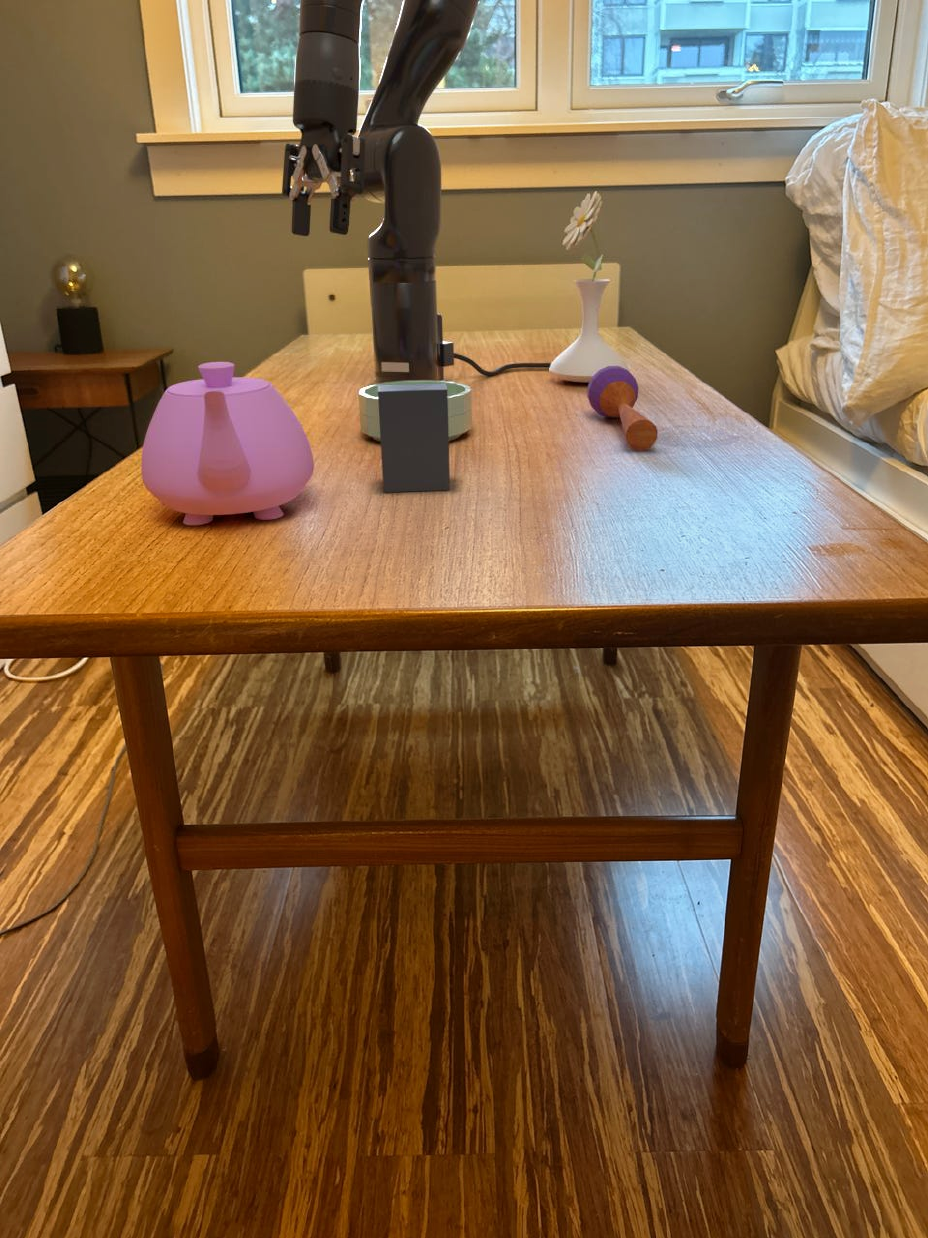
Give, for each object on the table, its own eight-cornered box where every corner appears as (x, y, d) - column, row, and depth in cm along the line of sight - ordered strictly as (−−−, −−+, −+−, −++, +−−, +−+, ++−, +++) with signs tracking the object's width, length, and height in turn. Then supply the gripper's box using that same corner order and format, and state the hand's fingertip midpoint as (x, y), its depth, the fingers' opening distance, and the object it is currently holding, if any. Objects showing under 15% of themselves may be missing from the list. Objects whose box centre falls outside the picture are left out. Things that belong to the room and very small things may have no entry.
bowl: (416, 418, 110) (415, 376, 108) (493, 432, 102) (493, 387, 100) (339, 436, 102) (335, 391, 100) (416, 453, 94) (414, 405, 92)
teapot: (325, 542, 69) (311, 381, 64) (133, 558, 67) (102, 392, 62) (312, 474, 87) (300, 344, 82) (160, 485, 85) (138, 351, 80)
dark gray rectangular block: (383, 483, 84) (378, 385, 80) (448, 481, 84) (445, 383, 81) (383, 492, 81) (377, 391, 77) (449, 490, 82) (447, 389, 78)
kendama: (609, 413, 91) (580, 366, 109) (616, 468, 94) (587, 414, 112) (667, 401, 91) (629, 356, 108) (673, 456, 94) (635, 404, 111)
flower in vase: (550, 374, 137) (554, 192, 127) (626, 374, 136) (636, 190, 125) (546, 390, 125) (549, 191, 115) (629, 390, 124) (640, 189, 113)
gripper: (389, 86, 103) (378, 239, 108) (320, 101, 113) (313, 240, 118) (333, 68, 98) (324, 228, 103) (267, 85, 108) (262, 230, 113)
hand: (318, 234), depth 110 cm, fingers open, 8 cm apart
